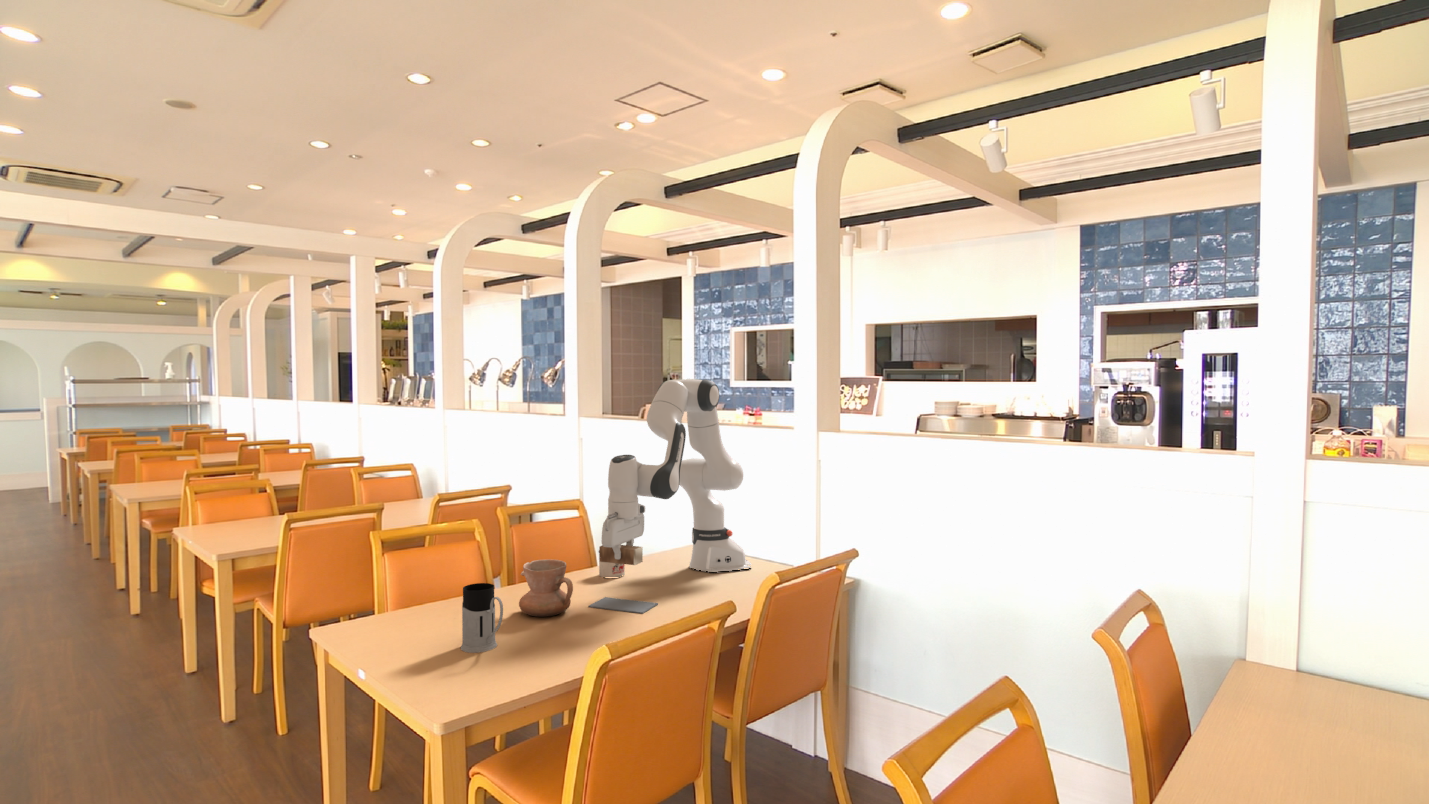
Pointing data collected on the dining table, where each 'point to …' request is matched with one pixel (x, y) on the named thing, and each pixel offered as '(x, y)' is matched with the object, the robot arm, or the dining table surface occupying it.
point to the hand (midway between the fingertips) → (623, 556)
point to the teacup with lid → (611, 569)
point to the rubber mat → (623, 605)
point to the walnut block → (629, 555)
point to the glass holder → (479, 618)
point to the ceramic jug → (545, 588)
